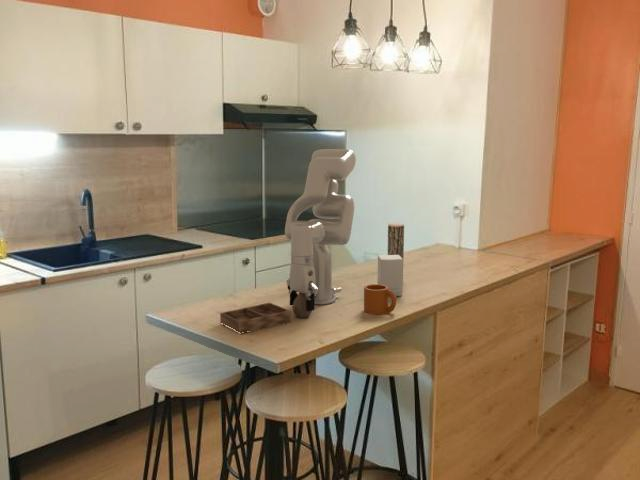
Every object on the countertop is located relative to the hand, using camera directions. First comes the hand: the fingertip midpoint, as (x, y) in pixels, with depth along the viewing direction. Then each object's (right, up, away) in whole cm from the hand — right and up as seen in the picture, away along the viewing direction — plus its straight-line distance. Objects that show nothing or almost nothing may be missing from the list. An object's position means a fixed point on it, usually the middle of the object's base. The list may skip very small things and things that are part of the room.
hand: (301, 307), depth 215 cm
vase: (0, -3, +1) cm, 4 cm away
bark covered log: (+39, +6, +49) cm, 62 cm away
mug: (+28, -2, +7) cm, 29 cm away
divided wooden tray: (-16, -5, -6) cm, 17 cm away
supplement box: (+34, +2, +30) cm, 46 cm away
